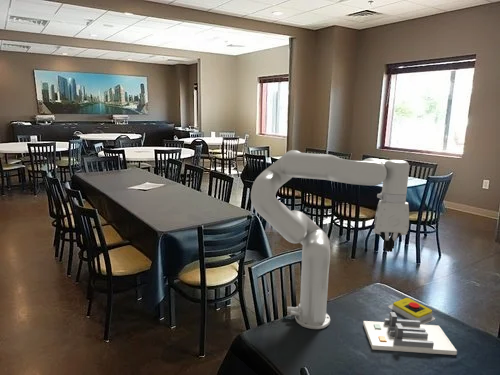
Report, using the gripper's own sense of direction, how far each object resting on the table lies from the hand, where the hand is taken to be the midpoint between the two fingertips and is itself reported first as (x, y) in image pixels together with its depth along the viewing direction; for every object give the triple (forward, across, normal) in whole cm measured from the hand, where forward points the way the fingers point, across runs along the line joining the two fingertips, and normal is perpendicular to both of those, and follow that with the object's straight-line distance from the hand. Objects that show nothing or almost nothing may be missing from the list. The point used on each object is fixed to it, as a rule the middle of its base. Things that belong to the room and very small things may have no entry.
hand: (388, 250), depth 125 cm
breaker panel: (+29, +7, -6) cm, 31 cm away
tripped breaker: (+27, +3, -10) cm, 29 cm away
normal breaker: (+27, +3, -2) cm, 28 cm away
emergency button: (+30, +14, +11) cm, 35 cm away
